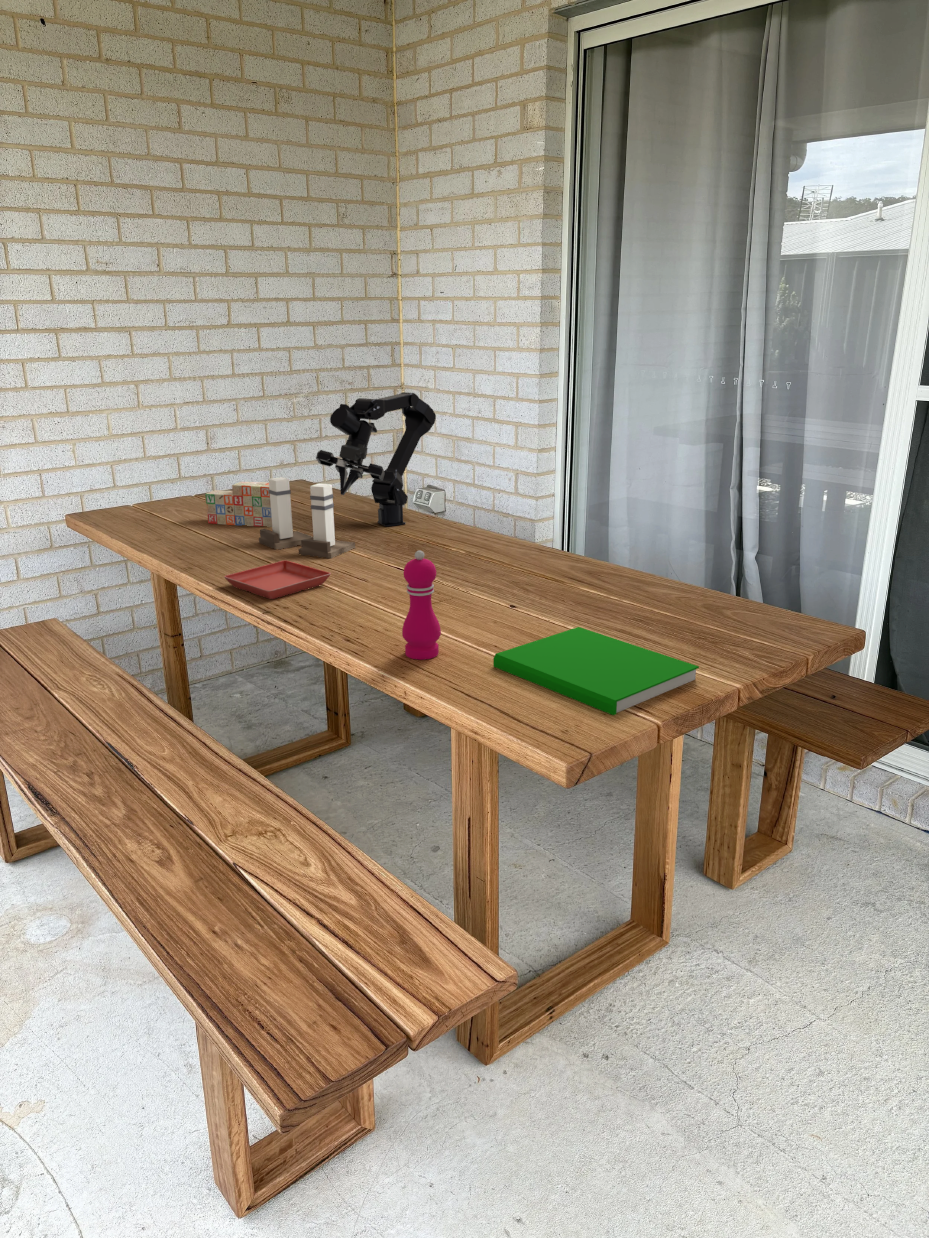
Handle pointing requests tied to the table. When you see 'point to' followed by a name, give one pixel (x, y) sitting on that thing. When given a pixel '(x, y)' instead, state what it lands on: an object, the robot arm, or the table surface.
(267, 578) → the plant saucer
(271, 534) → the base
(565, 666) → the book
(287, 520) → the post
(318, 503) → the post
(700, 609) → the table surface
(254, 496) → the stack of blocks
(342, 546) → the base
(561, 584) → the table surface
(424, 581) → the pepper mill
